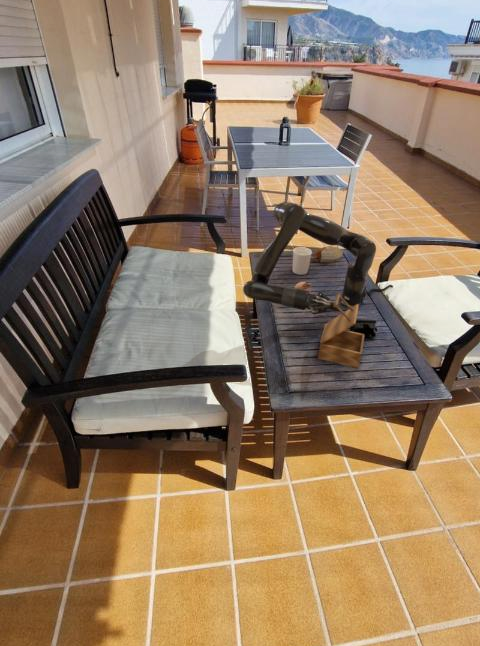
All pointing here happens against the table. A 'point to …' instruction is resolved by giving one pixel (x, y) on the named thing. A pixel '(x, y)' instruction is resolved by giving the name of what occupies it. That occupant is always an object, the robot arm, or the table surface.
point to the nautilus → (327, 254)
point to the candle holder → (301, 260)
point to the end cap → (365, 328)
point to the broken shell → (303, 286)
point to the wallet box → (343, 349)
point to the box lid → (340, 320)
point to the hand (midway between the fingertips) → (340, 307)
